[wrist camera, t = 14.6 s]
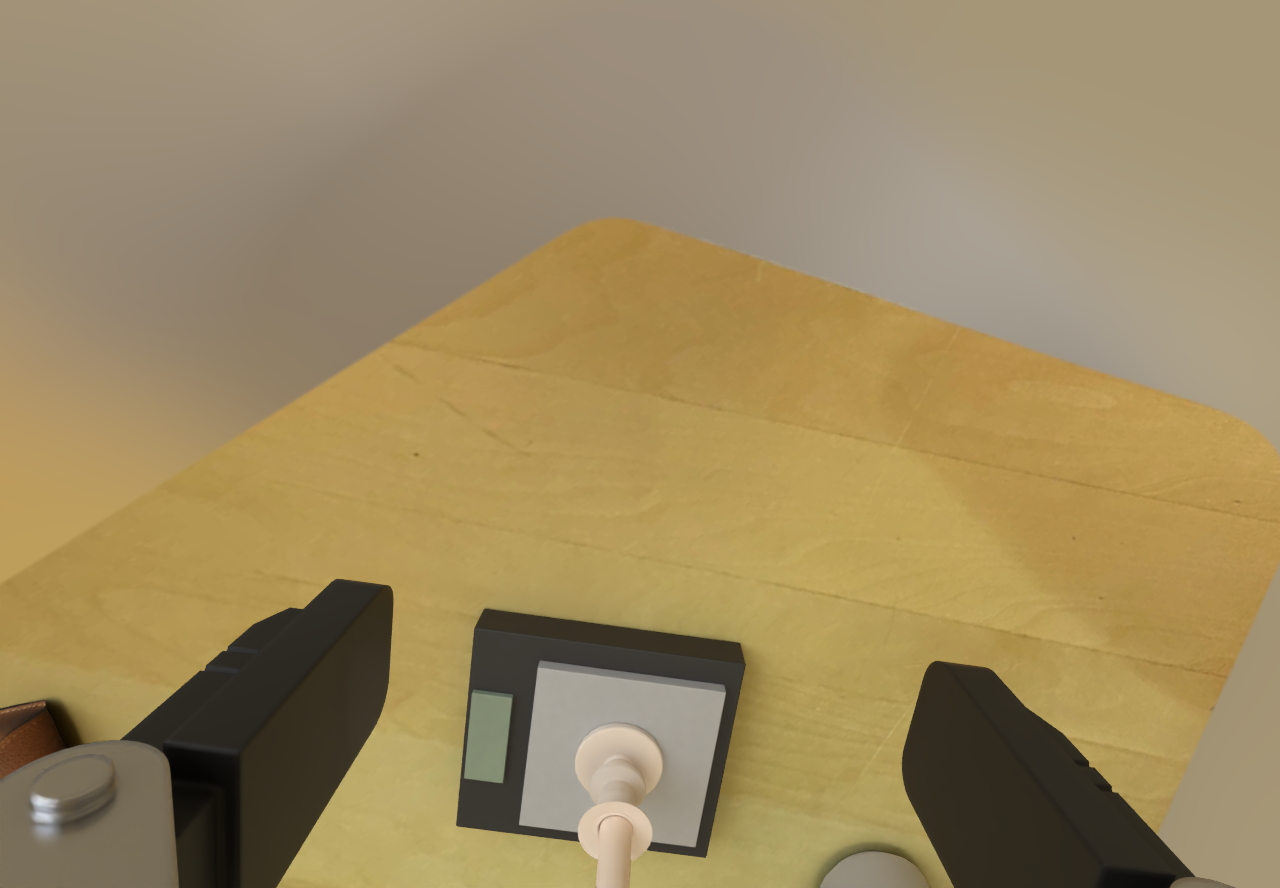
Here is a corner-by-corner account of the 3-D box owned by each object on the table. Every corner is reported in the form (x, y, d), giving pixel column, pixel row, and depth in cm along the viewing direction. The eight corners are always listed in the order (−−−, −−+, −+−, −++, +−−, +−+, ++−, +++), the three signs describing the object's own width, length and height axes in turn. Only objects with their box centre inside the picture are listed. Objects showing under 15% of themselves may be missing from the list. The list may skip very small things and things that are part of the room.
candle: (676, 739, 39) (687, 899, 29) (643, 807, 40) (642, 985, 30) (593, 710, 38) (575, 862, 28) (563, 780, 40) (534, 951, 29)
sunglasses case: (-69, 726, 42) (-123, 782, 36) (66, 675, 45) (36, 719, 39) (52, 942, 46) (21, 1024, 40) (168, 882, 49) (155, 949, 44)
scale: (465, 797, 44) (452, 837, 41) (484, 608, 40) (470, 635, 37) (703, 828, 44) (707, 869, 41) (740, 642, 41) (748, 672, 38)
